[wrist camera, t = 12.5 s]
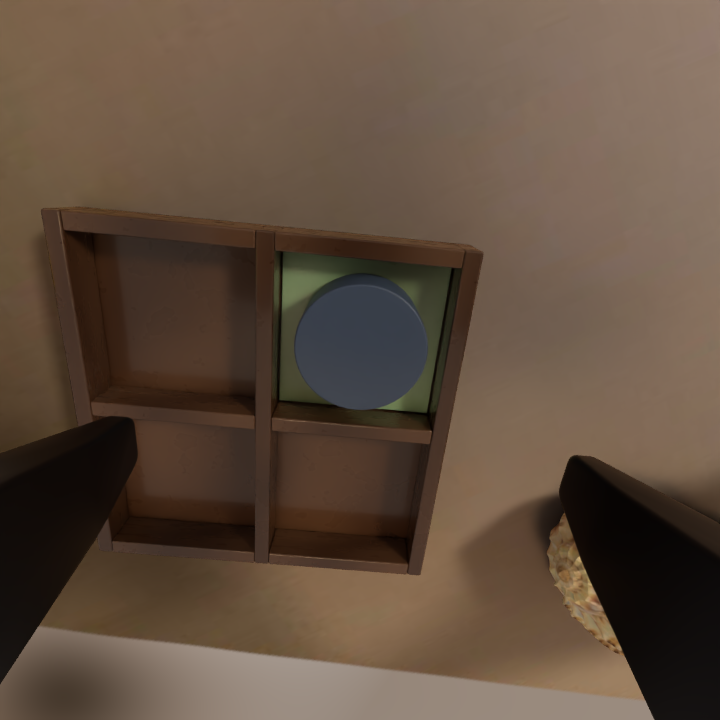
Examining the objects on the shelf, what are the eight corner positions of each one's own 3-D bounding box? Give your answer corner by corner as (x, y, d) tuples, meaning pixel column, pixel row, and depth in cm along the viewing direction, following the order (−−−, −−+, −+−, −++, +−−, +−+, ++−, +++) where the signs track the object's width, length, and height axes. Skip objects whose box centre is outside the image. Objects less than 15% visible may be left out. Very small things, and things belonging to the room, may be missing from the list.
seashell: (677, 435, 21) (525, 498, 17) (845, 509, 16) (681, 621, 12) (646, 554, 24) (509, 630, 20) (780, 649, 19) (630, 775, 15)
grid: (470, 244, 15) (484, 251, 13) (415, 542, 20) (420, 575, 18) (78, 206, 15) (39, 208, 13) (122, 519, 20) (98, 551, 18)
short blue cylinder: (429, 278, 15) (438, 291, 13) (411, 391, 17) (418, 416, 15) (304, 267, 15) (296, 277, 13) (299, 381, 16) (291, 404, 15)
